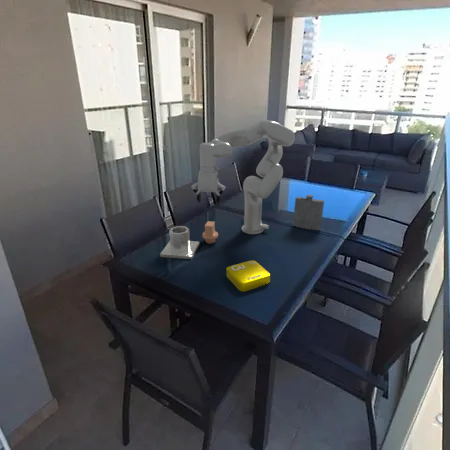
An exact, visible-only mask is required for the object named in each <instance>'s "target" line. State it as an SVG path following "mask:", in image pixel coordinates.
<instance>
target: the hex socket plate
mask: <svg viewBox="0 0 450 450" xmlns="http://www.w3.org/2000/svg"><path fill="white" fill-rule="evenodd" d="M168 232H169V233H168V234H169V241H168V243H167V244H166V245H165V247H164V248H163V249H162V251H161V252H160V254H159V255H160V256H159V257H161V258H170V259H180V260H181V259H183V260H193V257H194V256H195V255H196V252H197V250H198V249H199V247H200V243H201V242H200V241H198V240H197V241H193V240H191V237H190V229H189V228H188V227H187V226H185V225H184V226H183V225H177V226H174V227H171V228H170V229H169V230H168Z"/></svg>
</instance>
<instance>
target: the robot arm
mask: <svg viewBox="0 0 450 450" xmlns="http://www.w3.org/2000/svg"><path fill="white" fill-rule="evenodd" d="M263 138H266V139H267V141H268V147H267V151H266V153H265V154H264V156H263V157H262V159H261V160H260V162H259V163H258V165H257V166H256V171H255V172H256V174H257V175H258V176H259V177H258V176H255V175H249V176H247V177H246V178H245V179H244V181H243V184H242V187H243V188H242V189H243V193H244V223H243V225H242V226H241V231H242V232H243V233H245V234H248V235H258V234H259V235H260V234H261V233H263V232H264V229H265V230H266V229H267V230H269V228H270V227H269V226H270V225H268V224H267V223H263V221H262V208H263V207H262V205H263V199H267V198H268V197H269V196H270V195H271V194H272V193H273V191H274V190H275V189H276V187H277V185H278V184H279V183H280V181H281V179H282V177H283V176H284V175H283V174H284V169H283V166H282V165H281V164H280V161H281V160H282V158H283V153H284V151H283V147H291V146H292V145H293V144H294V143H295V140H296V135H295V132H294V131H293V130H292V129H290V128H288V127H286V126H284V125H282V124H281V123H279V122H276V121H273V120H267V119H261V120H257V121H256V122H253V123H252V124H249V125H247V126H246V127H243V128H240V129H237V130H235V131H231V132H227V133H224V134H221V135H219V136H217V137H216V138H214V139H212V140H211V141H210V142H202V143H200V145H199V168H200V169H199V171H198V177H197V182H195V183H193V184H192V185H191V186H190V187H191V189H192V190H193V192H194V193H195V195H196V200H197V202H198V203H200V202H201V200H202V198H201V197H202V196H201V195H202V194H201V192H204V193H206V192H207V193H215V194H216V204H219V202H221V195H222V194H223V193H224V191H225V190H226V188H227V187H226V186H225V185H223V184H222V183H220V181H219V180H220V179H219V173H218V171H219V166H217V165H216V164H217V163H216V159H226V158H228V157H230V156H232V153H233V148H234V147H245V146H246V147H247V146H250V145H251V144H254V143H255V142H257V141H260V140H261V139H263ZM220 188H221V189H220ZM219 189H220V190H219Z"/></svg>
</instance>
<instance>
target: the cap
mask: <svg viewBox="0 0 450 450" xmlns="http://www.w3.org/2000/svg"><path fill="white" fill-rule="evenodd" d="M201 238H202V239H203V240H205V243H206V244H208V245H210V244H211V245H212V244H214V243H216V239H218V238H219V233H218V231H216V221H209V220H208V221H207V222H206V223H205V224H204V231H203V232H202V237H201Z"/></svg>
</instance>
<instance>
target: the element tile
mask: <svg viewBox="0 0 450 450" xmlns="http://www.w3.org/2000/svg"><path fill="white" fill-rule="evenodd" d="M226 278H227V279H228V280H229V281H230V282H231V283H232V284H233V285H234V286H235V288H236V289H237V290H238V291H240V292H247V291H250V290H254V289H257V288H259V286H260V287H263V286H266V285H268V283H269V282H270V283H271V273H270V272H269V271H268V270H266V269H265V267H263V266H262V265H260V263H258V262H257V261H256V260H254V259H253V260H252V259H251V260H247V261H244V262H240V263H238V264H233V265H229V266H228V267H226ZM270 283H269V284H270ZM265 284H266V285H265ZM262 285H263V286H262Z"/></svg>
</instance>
